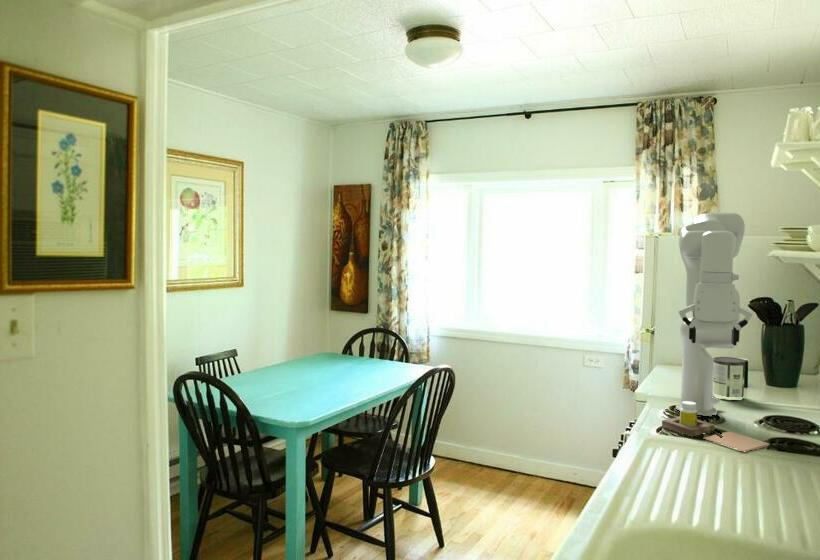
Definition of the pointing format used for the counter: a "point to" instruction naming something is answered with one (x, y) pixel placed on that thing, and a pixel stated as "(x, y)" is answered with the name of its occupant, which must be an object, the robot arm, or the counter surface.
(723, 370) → the coffee can
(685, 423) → the supplement bottle
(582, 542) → the counter surface
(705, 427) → the walnut cup holder
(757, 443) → the terracotta coaster
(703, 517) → the counter surface
